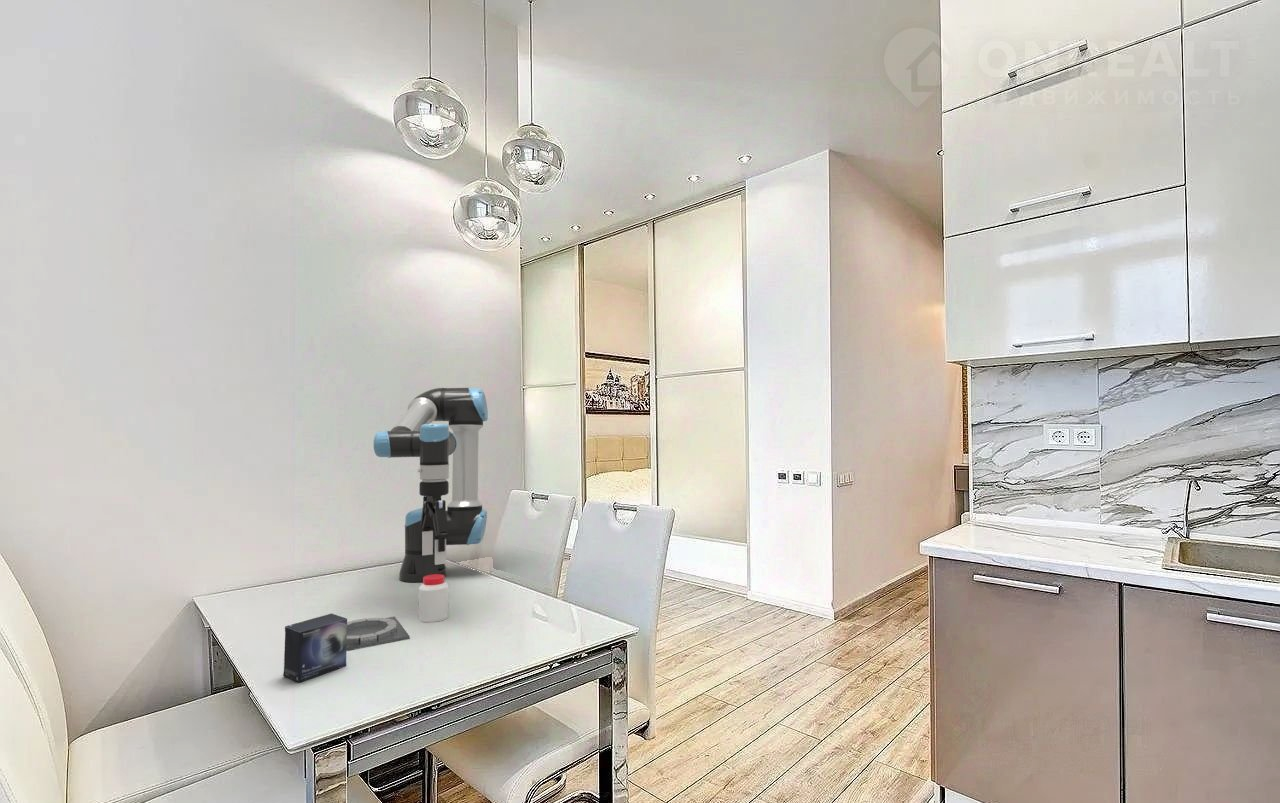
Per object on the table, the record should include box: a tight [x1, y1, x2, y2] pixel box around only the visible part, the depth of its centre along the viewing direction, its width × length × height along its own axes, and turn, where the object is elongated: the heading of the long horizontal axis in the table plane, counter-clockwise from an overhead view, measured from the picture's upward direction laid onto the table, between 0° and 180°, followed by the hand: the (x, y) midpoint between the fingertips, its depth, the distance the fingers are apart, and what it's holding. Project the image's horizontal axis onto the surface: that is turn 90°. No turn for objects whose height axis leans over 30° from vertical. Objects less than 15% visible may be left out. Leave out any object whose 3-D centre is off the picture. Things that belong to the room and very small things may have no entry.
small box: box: [282, 613, 348, 683], centre depth 129 cm, size 11×6×10 cm, turn 148°
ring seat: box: [346, 615, 411, 652], centre depth 151 cm, size 18×18×2 cm
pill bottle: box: [418, 574, 450, 623], centre depth 164 cm, size 8×8×11 cm
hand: (433, 559), depth 164 cm, fingers open, 13 cm apart
